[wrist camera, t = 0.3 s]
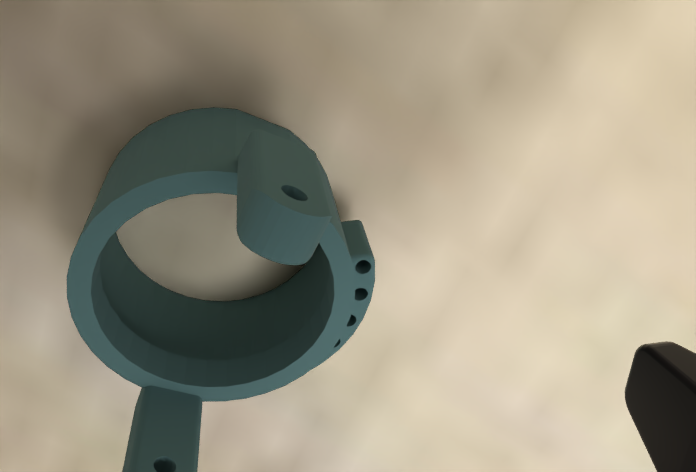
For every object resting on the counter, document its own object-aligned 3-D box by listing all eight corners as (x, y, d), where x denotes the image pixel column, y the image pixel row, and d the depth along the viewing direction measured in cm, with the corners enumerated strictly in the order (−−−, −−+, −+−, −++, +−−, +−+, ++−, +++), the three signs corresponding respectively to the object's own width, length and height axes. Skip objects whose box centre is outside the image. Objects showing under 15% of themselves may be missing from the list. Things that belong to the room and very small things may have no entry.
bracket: (162, 338, 24) (130, 544, 17) (51, 134, 19) (-63, 296, 12) (374, 275, 24) (435, 453, 17) (314, 57, 20) (363, 172, 12)
